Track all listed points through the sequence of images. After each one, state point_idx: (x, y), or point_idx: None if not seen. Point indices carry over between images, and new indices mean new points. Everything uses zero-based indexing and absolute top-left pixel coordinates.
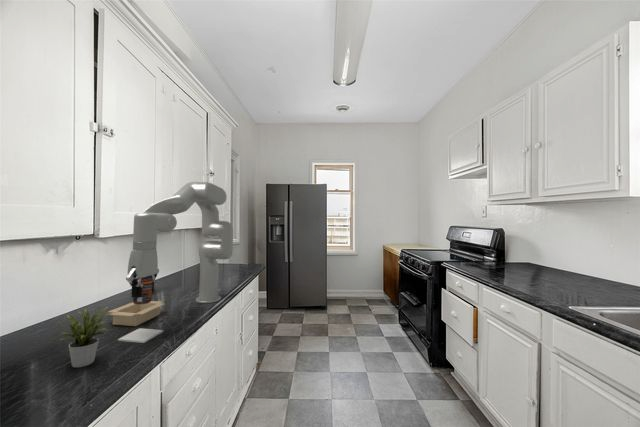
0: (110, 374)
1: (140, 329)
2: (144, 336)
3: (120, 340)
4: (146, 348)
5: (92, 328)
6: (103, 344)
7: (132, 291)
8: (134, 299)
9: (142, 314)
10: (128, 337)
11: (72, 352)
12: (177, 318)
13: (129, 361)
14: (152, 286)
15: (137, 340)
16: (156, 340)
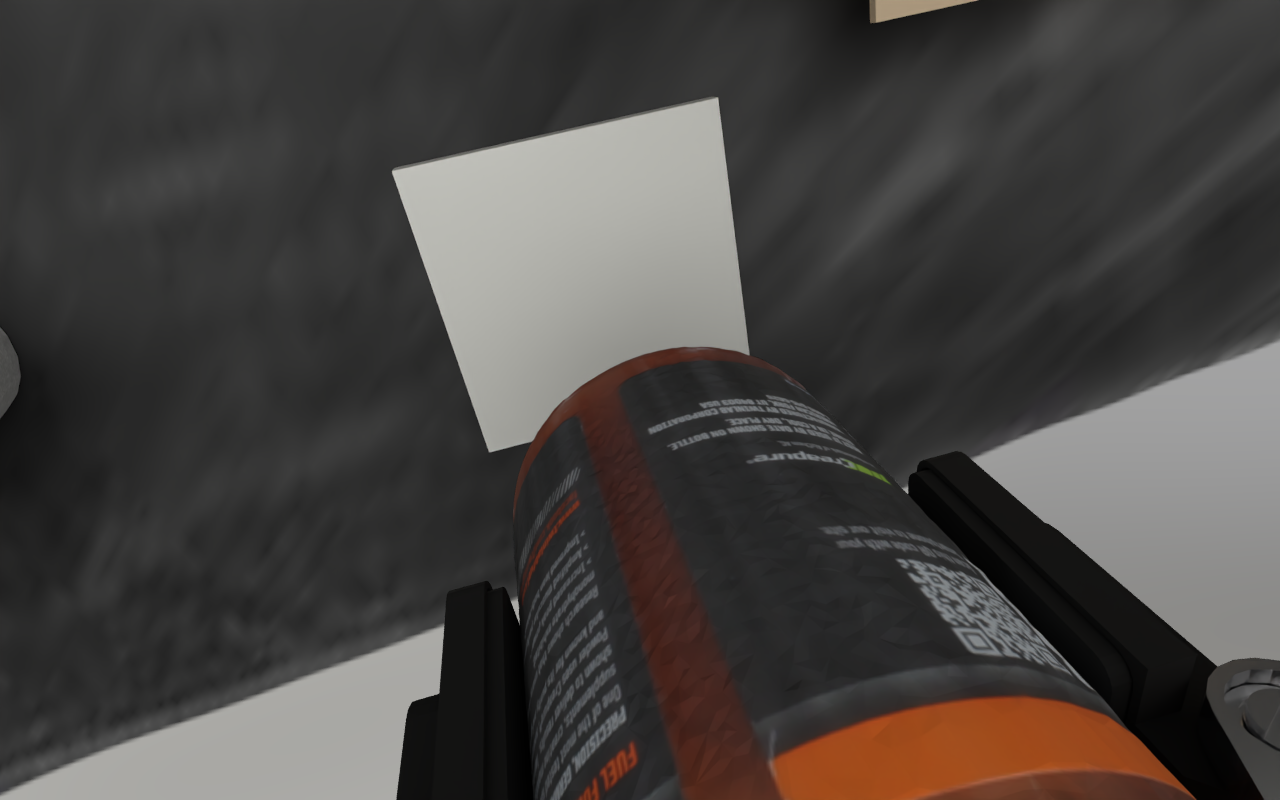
0: (34, 682)
1: (692, 150)
2: (570, 360)
3: (404, 201)
4: (431, 543)
5: None
6: (245, 102)
7: (399, 796)
8: (515, 548)
9: (884, 19)
10: (478, 236)
11: None
12: (1096, 205)
13: (222, 623)
14: None
15: (473, 386)
16: None
